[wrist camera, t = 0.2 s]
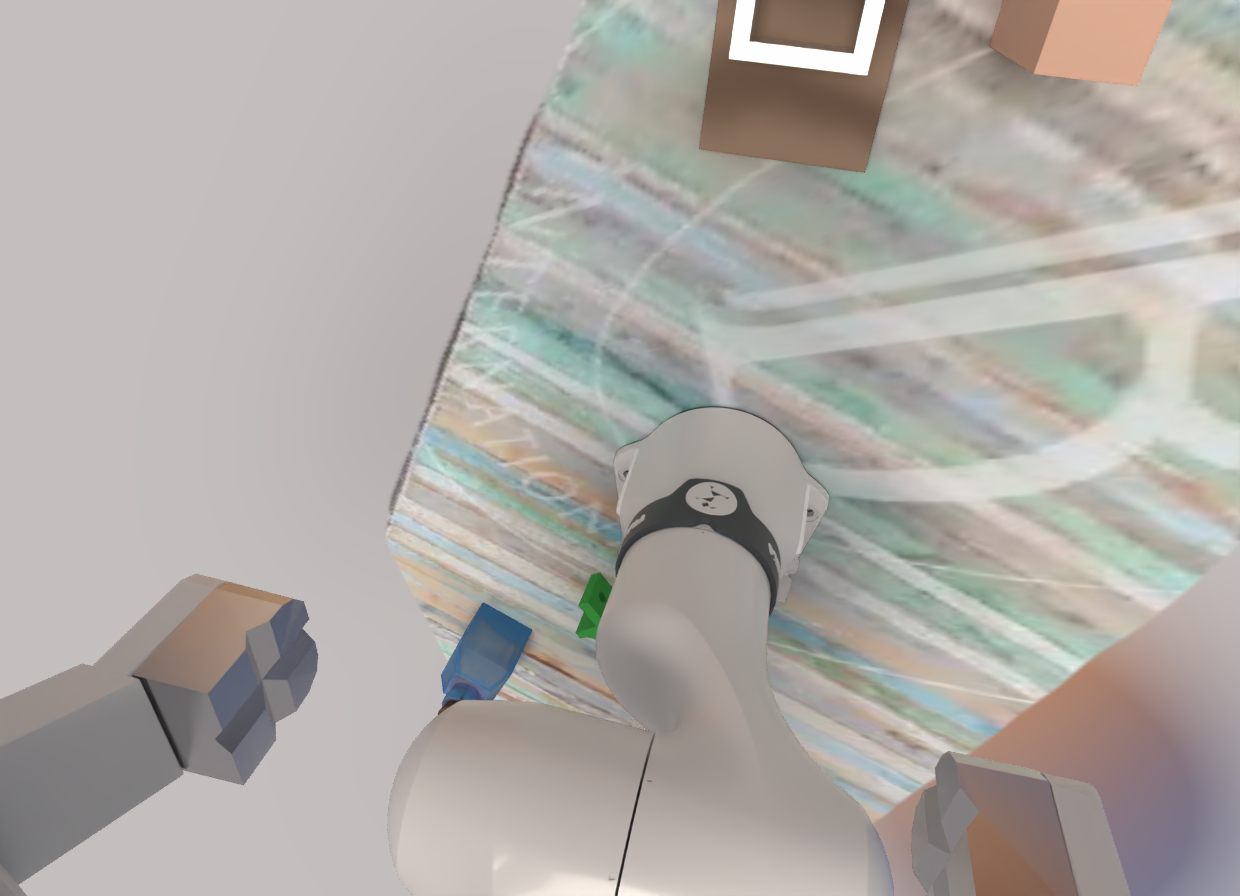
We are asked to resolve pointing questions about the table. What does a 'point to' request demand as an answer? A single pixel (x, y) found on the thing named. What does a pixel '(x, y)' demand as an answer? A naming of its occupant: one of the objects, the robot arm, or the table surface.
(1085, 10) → the tall rectangular block
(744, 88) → the holder base
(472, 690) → the perfume bottle
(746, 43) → the square metal frame
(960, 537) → the table surface
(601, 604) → the pipe clamp
